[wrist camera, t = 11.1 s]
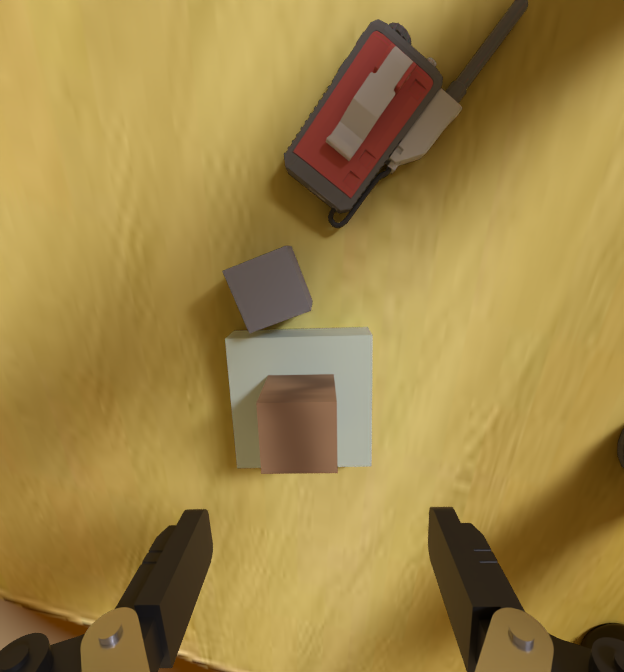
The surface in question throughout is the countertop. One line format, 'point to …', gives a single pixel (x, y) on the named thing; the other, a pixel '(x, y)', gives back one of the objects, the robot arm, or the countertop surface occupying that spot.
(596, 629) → the supplement bottle
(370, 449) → the pedestal
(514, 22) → the walkie-talkie
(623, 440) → the thermos
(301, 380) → the walnut cube
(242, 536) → the countertop surface
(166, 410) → the countertop surface
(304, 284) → the charcoal block
